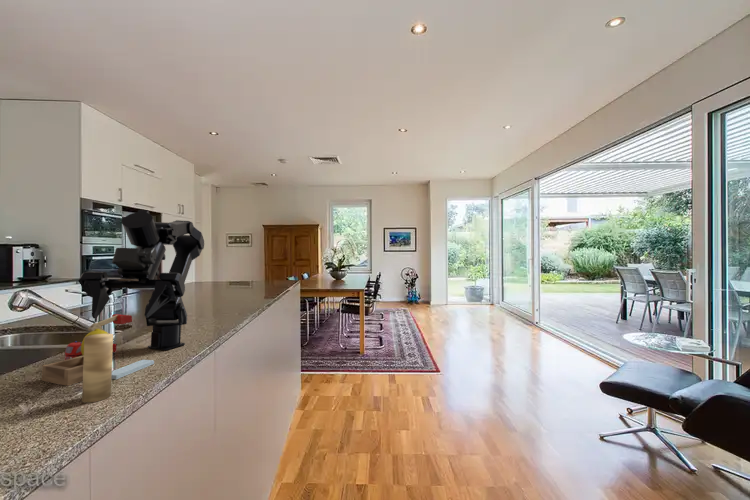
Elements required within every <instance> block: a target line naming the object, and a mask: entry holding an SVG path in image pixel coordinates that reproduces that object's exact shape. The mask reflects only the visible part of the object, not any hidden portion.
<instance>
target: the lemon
mask: <svg viewBox="0 0 750 500" xmlns="http://www.w3.org/2000/svg"><path fill="white" fill-rule="evenodd" d="M103 330H104V329H103ZM103 330H100V329H95V330H94V331H92V332H90V331H89V332H88V333H87V334H86V335H85V336H84V337H83V340H82V341H81V342H82V344H81V353H82V355H84V338H85V337H86V336H90V335H95V334H109V332H108V331H106V330H104V331H103Z"/></svg>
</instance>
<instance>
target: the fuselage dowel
mask: <svg viewBox="0 0 750 500" xmlns="http://www.w3.org/2000/svg"><path fill="white" fill-rule="evenodd" d="M85 336H86V335H85ZM85 336H84V337H85ZM84 337H83V339H84V361H83V381H82V387H81V388H82V390H81V391H82V392H81V402H82V403H96V402H100V401H104V400H106V399H108V398H110V397H111V395H112V379H111V377H112V371H113V353H112V351H113V344H114V334H112V333H108V334H95V335H90V336H86V337H85V338H84Z"/></svg>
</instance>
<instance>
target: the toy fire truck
mask: <svg viewBox="0 0 750 500" xmlns="http://www.w3.org/2000/svg"><path fill="white" fill-rule="evenodd" d="M112 322H113V324H116V325H125V324H129V323H132V322H133V316H132V315H129V314H120V313H119V314H118V313H117V314H116V313H114V314H112V316H111V317H108V318H105V319H103V320H100V321H98V322H95V323H92V324H91V325H89V327H87V330H88V331H89V333H90V332H92V331H94V330H95V329H100V330H103V331H105V330H104V328H103V327H104V326H105V325H107V324H111V323H112ZM81 344H82V341H77V340H75V341H73V342H70V343H68V344H67V346H66V348H65V350H64V360H67V359H71V358H75V357H79V356H83V355H82V353H81ZM116 352H117V343H113V351H112V354H113V353H116Z"/></svg>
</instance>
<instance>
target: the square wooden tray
mask: <svg viewBox="0 0 750 500" xmlns="http://www.w3.org/2000/svg"><path fill="white" fill-rule="evenodd" d="M83 361H84V355H83V356H79V357H75V358H71V359H67V360H65V359H64V360H60V361H56V362H52V363H47V364H43V365H41V366H42V367H41V381H42V382H45V383H52V384H55V385H61V386H68V387H69V386H71V385H75V384H78V383H82V382H83Z"/></svg>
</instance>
